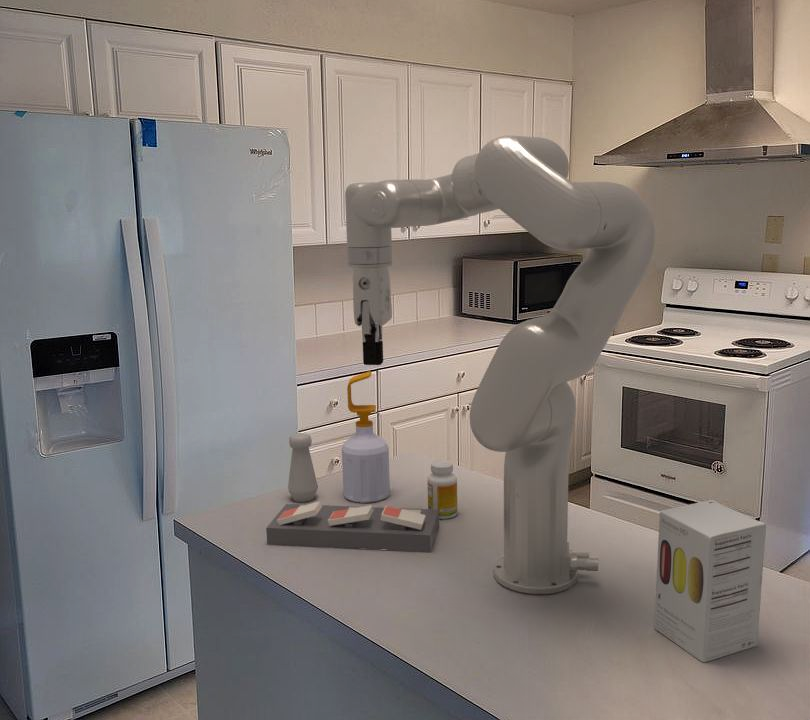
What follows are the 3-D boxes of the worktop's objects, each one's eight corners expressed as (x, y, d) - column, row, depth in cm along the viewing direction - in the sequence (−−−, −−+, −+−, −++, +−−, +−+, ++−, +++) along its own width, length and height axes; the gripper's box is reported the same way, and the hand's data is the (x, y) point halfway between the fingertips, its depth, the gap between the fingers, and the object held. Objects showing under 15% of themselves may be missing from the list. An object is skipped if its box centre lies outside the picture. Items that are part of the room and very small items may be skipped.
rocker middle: (373, 510, 139) (372, 504, 139) (368, 519, 135) (367, 513, 135) (335, 516, 141) (333, 510, 140) (329, 525, 137) (327, 519, 136)
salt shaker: (304, 491, 163) (301, 428, 160) (324, 497, 159) (321, 433, 156) (282, 499, 158) (278, 435, 156) (302, 506, 155) (299, 440, 152)
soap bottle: (389, 503, 155) (385, 377, 150) (341, 504, 155) (336, 378, 150) (390, 486, 164) (387, 367, 159) (345, 487, 164) (340, 368, 159)
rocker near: (424, 520, 138) (425, 514, 138) (421, 529, 134) (422, 523, 134) (384, 510, 139) (385, 504, 139) (380, 519, 135) (381, 513, 135)
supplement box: (651, 628, 108) (656, 509, 105) (704, 612, 112) (710, 497, 109) (704, 664, 100) (711, 536, 96) (760, 646, 103) (768, 522, 100)
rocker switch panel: (439, 525, 144) (438, 506, 143) (430, 552, 133) (430, 531, 132) (287, 519, 148) (285, 500, 148) (267, 544, 138) (265, 523, 137)
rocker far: (322, 506, 141) (320, 500, 140) (316, 515, 137) (313, 509, 137) (286, 516, 142) (284, 510, 142) (278, 525, 138) (276, 519, 138)
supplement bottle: (462, 511, 150) (462, 461, 148) (448, 522, 145) (447, 470, 144) (437, 506, 153) (436, 457, 151) (422, 516, 148) (421, 465, 146)
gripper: (383, 260, 129) (386, 373, 133) (399, 254, 143) (402, 355, 147) (337, 261, 130) (341, 373, 134) (357, 254, 145) (361, 355, 148)
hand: (373, 363), depth 140 cm, fingers closed
